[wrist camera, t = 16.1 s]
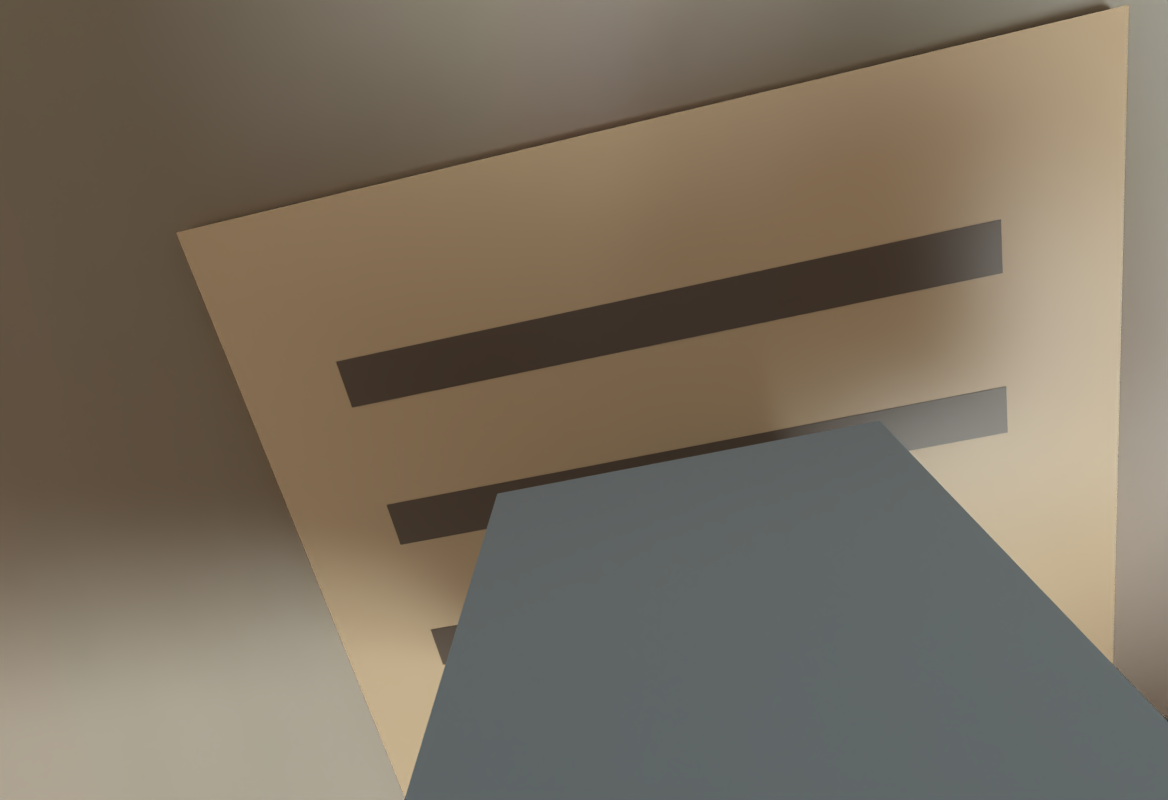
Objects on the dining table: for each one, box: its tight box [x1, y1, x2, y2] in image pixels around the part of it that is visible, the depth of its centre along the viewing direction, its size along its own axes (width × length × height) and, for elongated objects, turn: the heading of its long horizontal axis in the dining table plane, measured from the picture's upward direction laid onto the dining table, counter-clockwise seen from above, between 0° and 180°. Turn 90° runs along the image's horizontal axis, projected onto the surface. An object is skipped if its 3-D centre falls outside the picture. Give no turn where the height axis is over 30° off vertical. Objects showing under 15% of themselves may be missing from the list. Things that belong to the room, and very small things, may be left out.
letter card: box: [176, 5, 1129, 796], centre depth 11 cm, size 12×12×1 cm
